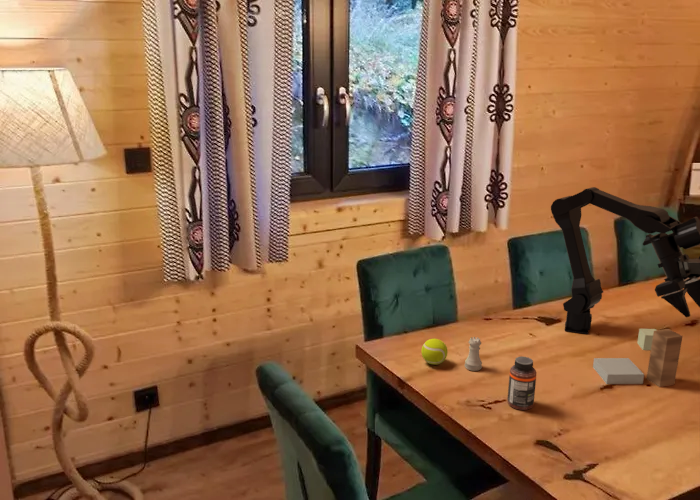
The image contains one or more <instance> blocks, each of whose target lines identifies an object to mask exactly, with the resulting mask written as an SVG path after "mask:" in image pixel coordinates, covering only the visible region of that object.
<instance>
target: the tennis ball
mask: <svg viewBox="0 0 700 500" xmlns="http://www.w3.org/2000/svg"><path fill="white" fill-rule="evenodd" d="M421 356H422V358H423V359H424V361H425V362H426V363H428V364H429V365H433V366H434V365H436V366H437V365H440V364H442V363H443V362H444V361H446V359H447V356H448V347H447V345H446V343H445V342H444V341H442V340H441V339H438V338H430V339H427V340H426V341H425V342H424V343H423V345H422V347H421Z"/></svg>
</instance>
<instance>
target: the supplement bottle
mask: <svg viewBox="0 0 700 500" xmlns="http://www.w3.org/2000/svg"><path fill="white" fill-rule="evenodd" d="M536 383H537V370H536V369H535V368H534V360H533V359H532V358H530V357H528V356H522V355H521V356H517V357H516V358H515V360H514V365H512V366H511V367H510V369H509V378H508V388H507V389H508V390H507V403H508V406H510V407H511V408H513V409H517V410H519V411H526V410H529V409H532V408H533V407H534V405H535V394H536V385H537V384H536Z"/></svg>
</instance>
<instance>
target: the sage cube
mask: <svg viewBox="0 0 700 500" xmlns="http://www.w3.org/2000/svg"><path fill="white" fill-rule="evenodd" d="M656 330H657V329H656V328H638V337H637V342H636V343H637V345H638V346H639V348H640V349H641V350H642V351H651V346H652V340H653V333H654V331H656Z"/></svg>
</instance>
